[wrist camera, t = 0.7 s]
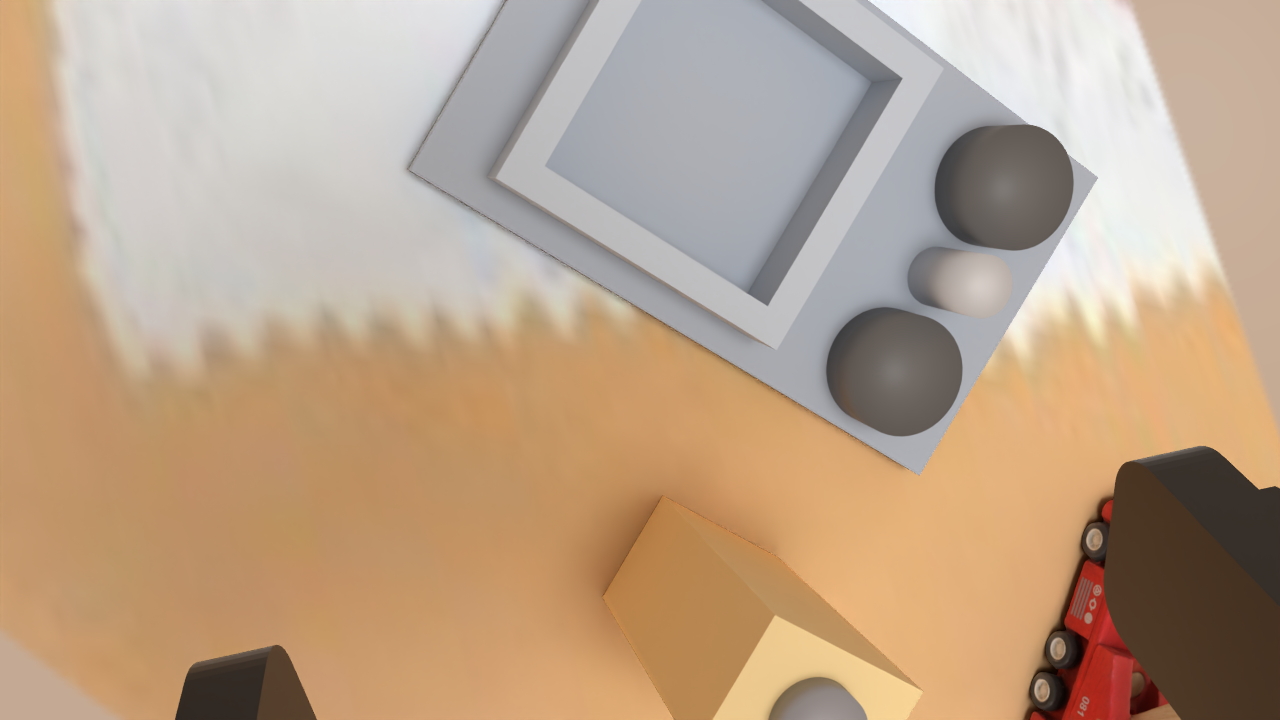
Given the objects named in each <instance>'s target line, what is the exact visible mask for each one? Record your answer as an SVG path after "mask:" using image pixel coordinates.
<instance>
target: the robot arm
mask: <svg viewBox="0 0 1280 720" xmlns="http://www.w3.org/2000/svg"><path fill="white" fill-rule="evenodd" d="M1103 585H1104V594H1105V600H1106V604H1107V608H1108V611H1109V614H1110V617H1111V619H1112V622H1113V624H1114V626H1115V628H1116V631H1117V632H1118V634H1119V636H1120V638H1121V639H1122V641H1123V642H1124V644H1125V645H1126V647H1127V648H1128V649H1129V651H1130V652H1131V653H1132V655H1133V656H1134V657H1135V659H1136V660H1137V661H1138V663H1139V664H1140V665H1141V667H1142V668H1143V669H1144V671H1145V672H1146V673H1147V675H1148V676H1149V677H1150V679H1151V680H1152V681H1153V683H1154V684H1155V685H1156V687H1157V688H1158V689H1159V691H1160V692H1161V693H1162V695H1163V696H1164V698H1165V699H1166V700H1167V702H1168V703H1169V704H1170V706H1171V707H1172V708H1173V710H1174V711H1175V712H1176V714H1177V715H1178V716H1179V718H1180V719H1181V720H1280V488H1278V487H1276V486H1274V487H1269V488H1265V489H1260V490H1259V489H1258V488H1257V487H1255V486H1254V485H1253V484H1252V483H1251V482H1250V481H1249V480H1248V479H1247V478H1246V477H1245V476H1244V475H1243V474H1242V473H1241V472H1239V471H1238V470H1237V469H1236V468H1235V467H1234V466H1233V465H1232V464H1231V463H1230V462H1229V461H1228V460H1227V459H1226V458H1225V457H1223V456H1222V455H1221V454H1220V453H1219V452H1217V451H1216V450H1214V449H1212V448H1210V447H1206V446H1197V447H1193V448H1188V449H1184V450H1179V451H1175V452H1170V453H1165V454H1161V455H1156V456H1152V457H1147V458H1143V459H1138V460H1133V461H1129V462H1126V463H1124V464H1123V465H1122V466H1121V468H1120V469H1119V471H1118V473H1117V477H1116V482H1115V489H1114V497H1113V505H1112V513H1111V521H1110V529H1109V537H1108V545H1107V552H1106V560H1105V568H1104V578H1103ZM175 720H317V719H316V716H315V714H314V712H313V710H312V707H311V705H310V703H309V701H308V698H307V696H306V694H305V691H304V689H303V687H302V685H301V682H300V680H299V678H298V676H297V673H296V671H295V669H294V666H293V664H292V662H291V660H290V658H289V656H288V654H287V652H286V651H285V650H284V649H283V648H282V647H281V646H279V645H274V646H270V647H265V648H261V649H256V650H252V651H247V652H242V653H238V654H233V655H229V656H224V657H220V658H215V659H210V660H206V661H201V662H197V663H195V664H193V665H192V667H191V668H190V669H189V671H188V673H187V676H186V679H185V682H184V686H183V690H182V694H181V698H180V702H179V706H178V710H177V714H176V718H175Z"/></svg>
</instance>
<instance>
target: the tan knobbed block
mask: <svg viewBox="0 0 1280 720" xmlns="http://www.w3.org/2000/svg"><path fill="white" fill-rule="evenodd" d="M603 599H604V601H605V602H606V604H607V606H608V607H609V609H610V611H611V613H612V614H613V616H614V618H615V619H616V621H617V623H618V625H619V626H620V628H621V630H622V631H623V633H624V635H625V636H626V638H627V640H628V642H629V643H630V645H631V647H632V648H633V650H634V652H635V653H636V655H637V657H638V659H639V660H640V662H641V664H642V665H643V667H644V669H645V671H646V672H647V674H648V676H649V677H650V679H651V681H652V682H653V684H654V686H655V688H656V689H657V691H658V693H659V694H660V696H661V698H662V700H663V701H664V703H665V705H666V706H667V708H668V710H669V711H670V713H671V715H672V717H673V718H674V720H907V718H908V716H909V715H910V713H911V711H912V710H913V708H914V707H915V705H916V703H917V702H918V700H919V698H920V697H921V695H922V693H923V692H924V691H923V690H922V689H920V688H919V687H918V686H917V685H916V684H915V683H914V682H913V681H912V680H911V679H910V678H909V677H907V676H906V675H905V674H904V673H903V672H902V671H901V670H900V669H899V668H898V667H897V666H895V665H894V664H893V663H892V662H891V661H890V660H889V659H888V658H887V657H886V656H885V655H884V654H882V653H881V652H880V651H879V650H878V649H877V648H876V647H875V646H874V645H873V644H872V643H871V642H869V641H868V640H867V639H866V638H865V637H864V636H863V635H862V634H861V633H860V632H859V631H858V630H856V629H855V628H854V627H853V626H852V625H851V624H850V623H849V622H848V621H847V620H846V619H845V618H843V617H842V616H841V615H840V614H839V613H838V612H837V611H836V610H835V609H834V608H833V607H832V606H830V605H829V604H828V603H827V602H826V601H825V600H824V599H823V598H822V597H821V596H820V595H819V594H817V593H816V592H815V591H814V590H813V589H812V588H811V587H810V586H809V585H808V584H807V583H805V582H804V581H803V580H802V579H801V578H800V577H799V576H798V575H797V574H796V573H795V572H794V571H792V570H791V569H790V568H789V567H788V566H787V565H786V564H785V563H784V562H783V561H782V560H781V559H779V558H778V557H776V556H774V555H773V554H771V553H769V552H767V551H765V550H763V549H761V548H760V547H758V546H756V545H754V544H752V543H750V542H748V541H746V540H745V539H743V538H741V537H739V536H737V535H735V534H733V533H732V532H730V531H728V530H726V529H724V528H722V527H720V526H719V525H717V524H715V523H713V522H711V521H709V520H707V519H706V518H704V517H702V516H700V515H698V514H696V513H694V512H692V511H691V510H689V509H687V508H685V507H683V506H681V505H679V504H678V503H676V502H674V501H672V500H670V499H668V498H666V497H665V496H662V498H661V499H660V501H659V503H658V505H657V506H656V508H655V510H654V511H653V513H652V515H651V516H650V518H649V520H648V521H647V523H646V525H645V526H644V528H643V530H642V531H641V533H640V535H639V537H638V538H637V540H636V542H635V543H634V545H633V547H632V548H631V550H630V552H629V553H628V555H627V557H626V558H625V560H624V562H623V564H622V565H621V567H620V569H619V570H618V572H617V574H616V575H615V577H614V579H613V580H612V582H611V584H610V585H609V587H608V589H607V590H606V592H605V594H604V596H603Z"/></svg>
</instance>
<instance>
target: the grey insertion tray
mask: <svg viewBox="0 0 1280 720" xmlns="http://www.w3.org/2000/svg"><path fill="white" fill-rule="evenodd" d="M408 170H409V171H411V172H413V173H414V174H416V175H418V176H419V177H421V178H423V179H424V180H426V181H428V182H429V183H431V184H433V185H434V186H436V187H438V188H439V189H441V190H443V191H444V192H446V193H448V194H449V195H451V196H453V197H454V198H456V199H458V200H459V201H461V202H463V203H464V204H466V205H468V206H469V207H471V208H473V209H474V210H476V211H478V212H479V213H481V214H483V215H484V216H486V217H488V218H489V219H491V220H493V221H494V222H496V223H498V224H499V225H501V226H503V227H504V228H506V229H508V230H509V231H511V232H513V233H514V234H516V235H518V236H519V237H521V238H523V239H524V240H526V241H528V242H529V243H531V244H533V245H535V246H536V247H538V248H540V249H541V250H543V251H545V252H546V253H548V254H550V255H551V256H553V257H555V258H556V259H558V260H560V261H561V262H563V263H565V264H566V265H568V266H570V267H571V268H573V269H575V270H576V271H578V272H580V273H581V274H583V275H585V276H586V277H588V278H590V279H591V280H593V281H595V282H596V283H598V284H600V285H601V286H603V287H605V288H606V289H608V290H610V291H611V292H613V293H615V294H616V295H618V296H620V297H621V298H623V299H625V300H626V301H628V302H630V303H631V304H633V305H635V306H636V307H638V308H640V309H641V310H643V311H645V312H646V313H648V314H650V315H651V316H653V317H655V318H656V319H658V320H660V321H661V322H663V323H665V324H666V325H668V326H670V327H671V328H673V329H675V330H676V331H678V332H680V333H681V334H683V335H685V336H686V337H688V338H690V339H691V340H693V341H695V342H696V343H698V344H700V345H701V346H703V347H705V348H706V349H708V350H710V351H711V352H713V353H715V354H717V355H718V356H720V357H722V358H723V359H725V360H727V361H728V362H730V363H732V364H733V365H735V366H737V367H738V368H740V369H742V370H743V371H745V372H747V373H748V374H750V375H752V376H753V377H755V378H757V379H758V380H760V381H762V382H763V383H765V384H767V385H768V386H770V387H772V388H773V389H775V390H777V391H778V392H780V393H782V394H783V395H785V396H787V397H788V398H790V399H792V400H793V401H795V402H797V403H798V404H800V405H802V406H803V407H805V408H807V409H808V410H810V411H812V412H813V413H815V414H817V415H818V416H820V417H822V418H823V419H825V420H827V421H828V422H830V423H832V424H833V425H835V426H837V427H838V428H840V429H842V430H843V431H845V432H847V433H848V434H850V435H852V436H853V437H855V438H857V439H858V440H860V441H862V442H863V443H865V444H867V445H868V446H870V447H872V448H873V449H875V450H877V451H878V452H880V453H882V454H883V455H885V456H887V457H888V458H890V459H892V460H894V461H895V462H897V463H899V464H900V465H902V466H904V467H905V468H907V469H909V470H911V471H912V472H914V473H916V474H918V475H920V474H921V472H922V470H923V469H924V467H925V465H926V464H927V462H928V460H929V459H930V457H931V455H932V454H933V452H934V450H935V449H936V447H937V445H938V444H939V442H940V440H941V439H942V437H943V435H944V434H945V432H946V430H947V429H948V427H949V425H950V424H951V422H952V420H953V419H954V417H955V415H956V414H957V412H958V410H959V409H960V407H961V405H962V404H963V402H964V400H965V399H966V397H967V395H968V394H969V392H970V390H971V389H972V387H973V385H974V384H975V382H976V380H977V379H978V377H979V375H980V374H981V372H982V370H983V369H984V367H985V365H986V364H987V362H988V360H989V359H990V357H991V355H992V354H993V352H994V350H995V349H996V347H997V345H998V344H999V342H1000V340H1001V339H1002V337H1003V335H1004V334H1005V332H1006V330H1007V329H1008V327H1009V325H1010V324H1011V322H1012V320H1013V319H1014V317H1015V315H1016V314H1017V312H1018V310H1019V309H1020V307H1021V305H1022V304H1023V302H1024V300H1025V299H1026V297H1027V295H1028V294H1029V292H1030V290H1031V289H1032V287H1033V285H1034V284H1035V282H1036V280H1037V279H1038V277H1039V275H1040V274H1041V272H1042V270H1043V269H1044V267H1045V265H1046V264H1047V262H1048V260H1049V259H1050V257H1051V255H1052V254H1053V252H1054V250H1055V249H1056V247H1057V245H1058V244H1059V242H1060V240H1061V239H1062V237H1063V235H1064V234H1065V232H1066V230H1067V229H1068V227H1069V225H1070V224H1071V222H1072V220H1073V219H1074V217H1075V215H1076V214H1077V212H1078V210H1079V209H1080V207H1081V205H1082V204H1083V202H1084V200H1085V199H1086V197H1087V195H1088V193H1089V192H1090V190H1091V188H1092V187H1093V185H1094V183H1095V182H1096V180H1097V178H1098V177H1097V176H1095V175H1094V174H1093V173H1091V172H1090V171H1089V170H1087V169H1086V168H1085V167H1084V166H1082V165H1081V164H1080V163H1078V162H1077V161H1076V160H1074V159H1073V158H1072V157H1071V156H1069V155H1068V154H1067V152H1066V150H1065V149H1064V147H1063V145H1062V144H1061V143H1060V142H1059V140H1058V139H1057V138H1056V137H1054V136H1053V135H1052V134H1051V133H1049V132H1048V131H1046V130H1044V129H1042V128H1040V127H1037V126H1033V125H1029V124H1028V123H1026V122H1025V121H1024V120H1023V119H1021V118H1020V117H1019V116H1017V115H1016V114H1015V113H1013V112H1012V111H1011V110H1010V109H1008V108H1007V107H1006V106H1004V105H1003V104H1002V103H1000V102H999V101H998V100H997V99H995V98H994V97H993V96H991V95H990V94H989V93H987V92H986V91H985V90H984V89H982V88H981V87H980V86H978V85H977V84H976V83H974V82H973V81H972V80H971V79H969V78H968V77H967V76H965V75H964V74H963V73H962V72H960V71H959V70H958V69H956V68H955V67H954V66H952V65H951V64H950V63H949V62H947V61H946V60H945V59H943V58H942V57H941V56H939V55H938V54H937V53H936V52H934V51H933V50H932V49H930V48H929V47H928V46H926V45H925V44H924V43H923V42H921V41H920V40H919V39H917V38H916V37H915V36H913V35H912V34H911V33H910V32H908V31H907V30H906V29H904V28H903V27H902V26H900V25H899V24H898V23H897V22H895V21H894V20H893V19H891V18H890V17H889V16H888V15H886V14H885V13H884V12H882V11H881V10H880V9H878V8H877V7H876V6H875V5H873V4H872V3H871V2H869V1H868V0H506V2H505V4H504V5H503V7H502V9H501V11H500V12H499V14H498V16H497V17H496V19H495V21H494V23H493V24H492V26H491V28H490V29H489V31H488V33H487V35H486V36H485V38H484V40H483V41H482V43H481V45H480V47H479V48H478V50H477V52H476V53H475V55H474V57H473V59H472V60H471V62H470V64H469V65H468V67H467V69H466V71H465V72H464V74H463V76H462V77H461V79H460V81H459V83H458V84H457V86H456V88H455V89H454V91H453V93H452V95H451V96H450V98H449V100H448V102H447V103H446V105H445V107H444V108H443V110H442V112H441V114H440V115H439V117H438V119H437V120H436V122H435V124H434V126H433V127H432V129H431V131H430V132H429V134H428V136H427V138H426V139H425V141H424V143H423V144H422V146H421V148H420V150H419V151H418V153H417V155H416V156H415V158H414V160H413V162H412V163H411V165H410V167H409V168H408Z"/></svg>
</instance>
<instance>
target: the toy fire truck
mask: <svg viewBox="0 0 1280 720" xmlns="http://www.w3.org/2000/svg"><path fill="white" fill-rule="evenodd" d="M1112 505H1113V500H1110V501H1108V502H1107V503H1106V504H1105V505H1104V507H1103V510H1102V517H1103V519H1104V522H1103V523H1101V522H1096V523H1091V524H1090V525H1089V526H1087V528H1086V529H1085V531H1084V533H1083V536H1082V547H1083V550H1084V551H1085V553H1086V554H1087V555H1088V556H1089V557H1091V558H1090V559H1088V560H1087V561H1086V562H1085V563H1084V565H1083V570H1082V571H1081V575H1080V577H1079V580H1078V583H1077V585H1076V588H1075V592H1074V596H1073V597H1072V601H1071V603H1070V607H1069V610H1068V612H1067V616H1066V618H1065V626H1066V629H1067V630H1066V631H1056V632H1054V633H1053V634H1052V635H1051V636H1050V637H1049V638H1048V640H1047V643H1046V656H1047V658H1048V660H1049V662H1050V664H1052V665H1053V666H1054V667H1055V668H1056V669H1059V671H1058V673H1057V676H1056V675H1055V674H1051V673H1047V672H1041V673H1039V674H1038V675H1036V676H1035V677H1034V679H1033V681H1032V684H1031V689H1030V690H1031V697H1032V700H1033V702H1034V704H1035V705H1036V706H1037V707H1038V708H1040V709H1043V710H1044V711H1042V712H1039V711H1035V712H1033V713H1032V715H1031V718H1030V720H1181V719H1180V718H1179V716H1178V715H1177V714H1176V712H1175V711H1174V710H1173V708H1172V707H1171V706H1170V704H1169V703H1168V702H1167V700H1166V699H1165V698H1164V696H1163V695H1162V693H1161V692H1160V691H1159V689H1158V688H1157V687H1156V685H1155V684H1154V683H1153V681H1152V680H1151V679H1150V677H1149V676H1148V675H1147V673H1146V672H1145V671H1144V669H1143V668H1142V667H1141V665H1140V664H1139V663H1138V661H1137V660H1136V659H1135V657H1134V656H1133V655H1132V653H1131V652H1130V651H1129V649H1128V648H1127V647H1126V645H1125V644H1124V642H1123V641H1122V639H1121V638H1120V636H1119V634H1118V632H1117V631H1116V628H1115V626H1114V624H1113V622H1112V619H1111V617H1110V614H1109V611H1108V608H1107V604H1106V600H1105V594H1104V585H1103V578H1104V568H1105V560H1106V552H1107V545H1108V537H1109V529H1110V521H1111V513H1112Z"/></svg>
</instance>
